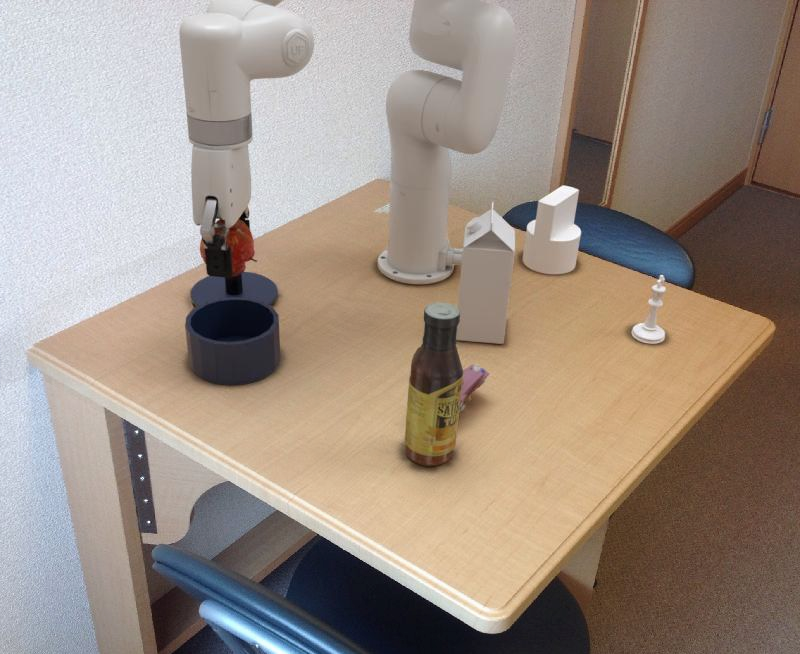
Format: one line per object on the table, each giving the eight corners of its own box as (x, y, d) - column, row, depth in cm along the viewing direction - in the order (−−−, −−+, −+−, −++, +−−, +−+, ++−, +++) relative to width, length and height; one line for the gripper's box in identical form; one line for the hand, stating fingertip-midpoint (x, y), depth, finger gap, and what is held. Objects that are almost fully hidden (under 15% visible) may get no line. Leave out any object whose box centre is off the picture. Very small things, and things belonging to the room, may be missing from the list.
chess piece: (670, 335, 138) (685, 276, 132) (654, 347, 135) (668, 287, 129) (642, 323, 141) (655, 264, 135) (625, 334, 138) (637, 275, 132)
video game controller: (439, 436, 118) (464, 405, 113) (412, 413, 118) (437, 381, 114) (475, 400, 125) (501, 369, 120) (450, 377, 125) (474, 346, 120)
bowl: (279, 335, 134) (278, 295, 130) (281, 384, 123) (279, 343, 120) (192, 337, 132) (188, 297, 128) (186, 387, 122) (182, 345, 118)
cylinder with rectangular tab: (538, 245, 161) (547, 180, 154) (584, 260, 157) (596, 194, 150) (512, 263, 155) (521, 196, 148) (560, 279, 151) (571, 211, 144)
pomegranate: (231, 268, 125) (173, 241, 118) (262, 225, 123) (204, 194, 116) (254, 297, 121) (194, 271, 113) (286, 253, 119) (227, 223, 111)
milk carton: (503, 320, 140) (518, 203, 128) (503, 345, 134) (518, 224, 123) (457, 316, 140) (467, 199, 129) (454, 341, 134) (465, 220, 123)
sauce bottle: (440, 475, 109) (452, 332, 98) (394, 457, 112) (401, 316, 100) (464, 446, 114) (479, 307, 103) (420, 429, 117) (429, 291, 105)
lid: (277, 276, 148) (275, 236, 144) (278, 318, 137) (276, 276, 133) (193, 278, 146) (189, 237, 142) (188, 320, 136) (183, 277, 132)
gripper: (212, 101, 116) (221, 230, 127) (163, 149, 102) (179, 289, 112) (269, 107, 116) (274, 235, 126) (229, 156, 101) (238, 296, 112)
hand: (229, 260), depth 119 cm, fingers closed on pomegranate, 7 cm apart
